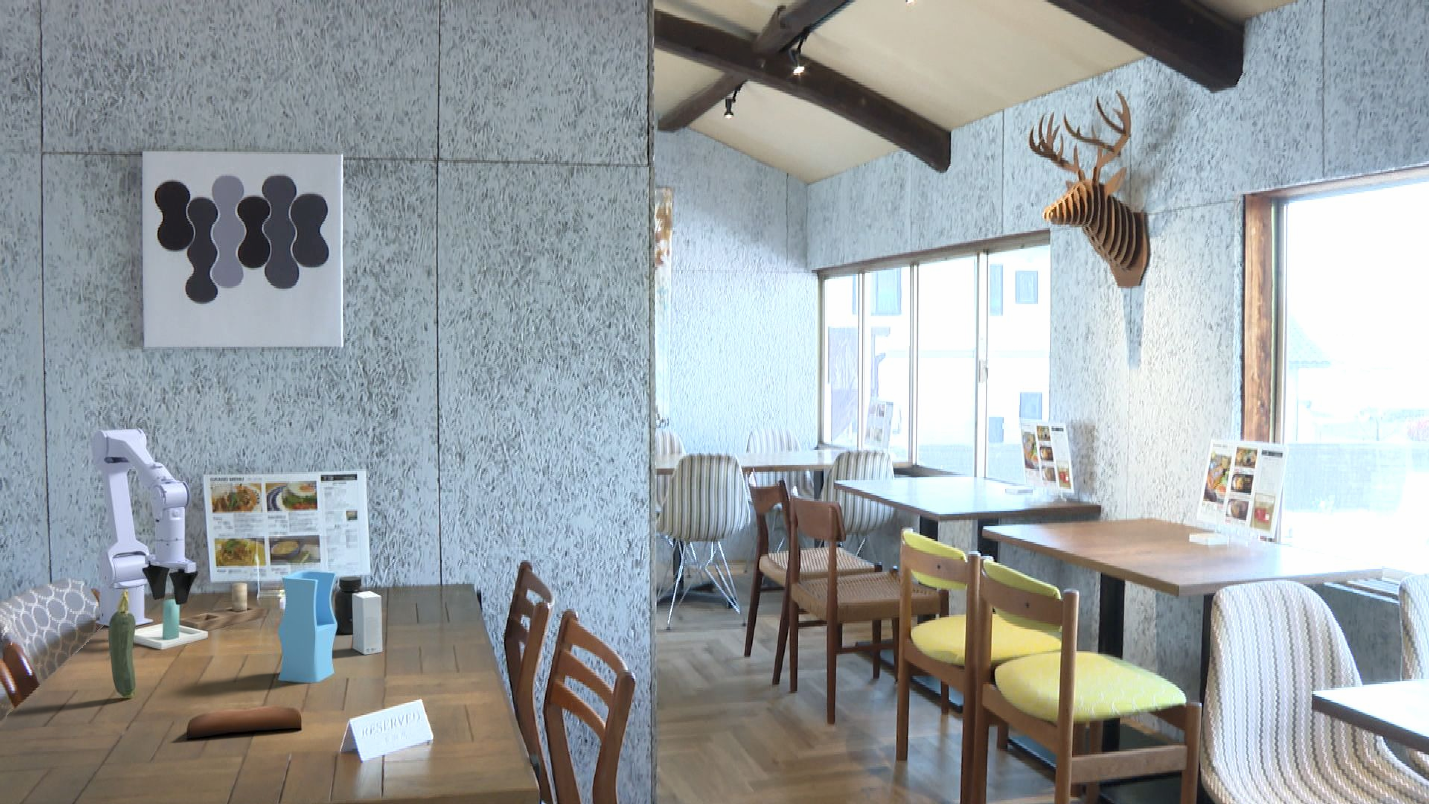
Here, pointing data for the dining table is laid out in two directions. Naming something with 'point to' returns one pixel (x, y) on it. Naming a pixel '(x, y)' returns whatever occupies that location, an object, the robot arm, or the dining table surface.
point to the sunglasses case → (243, 720)
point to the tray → (154, 639)
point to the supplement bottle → (345, 603)
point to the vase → (307, 627)
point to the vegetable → (122, 647)
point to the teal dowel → (170, 619)
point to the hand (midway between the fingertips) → (170, 601)
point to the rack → (222, 618)
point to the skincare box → (367, 622)
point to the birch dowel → (239, 597)
